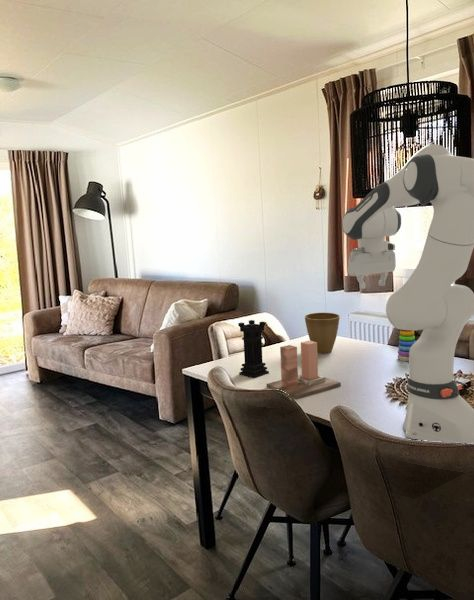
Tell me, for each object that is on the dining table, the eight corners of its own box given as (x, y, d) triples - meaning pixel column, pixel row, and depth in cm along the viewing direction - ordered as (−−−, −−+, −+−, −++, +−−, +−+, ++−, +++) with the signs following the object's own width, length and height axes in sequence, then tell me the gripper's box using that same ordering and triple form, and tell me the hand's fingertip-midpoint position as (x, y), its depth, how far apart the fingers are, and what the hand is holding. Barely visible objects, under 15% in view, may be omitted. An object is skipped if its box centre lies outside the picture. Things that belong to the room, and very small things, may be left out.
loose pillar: (318, 381, 183) (317, 342, 180) (309, 383, 180) (308, 344, 178) (310, 378, 186) (309, 340, 184) (301, 381, 184) (300, 342, 182)
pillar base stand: (340, 385, 180) (339, 342, 178) (296, 398, 170) (294, 353, 167) (309, 375, 194) (308, 335, 191) (266, 387, 183) (264, 344, 181)
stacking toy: (415, 356, 212) (415, 311, 209) (420, 361, 204) (420, 314, 202) (395, 356, 213) (395, 311, 210) (399, 362, 205) (399, 315, 202)
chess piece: (239, 374, 199) (236, 323, 196) (253, 369, 205) (251, 319, 202) (254, 378, 194) (252, 325, 191) (268, 373, 199) (266, 321, 196)
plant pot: (299, 350, 231) (298, 314, 229) (329, 346, 236) (328, 311, 233) (315, 358, 217) (314, 320, 215) (346, 353, 222) (346, 316, 220)
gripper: (357, 248, 169) (358, 290, 171) (398, 244, 180) (399, 284, 182) (342, 248, 174) (344, 289, 176) (383, 245, 186) (384, 283, 187)
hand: (372, 287), depth 179 cm, fingers open, 8 cm apart
